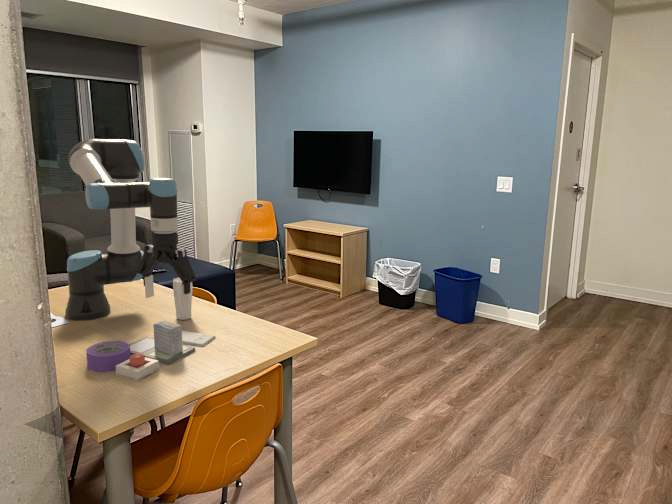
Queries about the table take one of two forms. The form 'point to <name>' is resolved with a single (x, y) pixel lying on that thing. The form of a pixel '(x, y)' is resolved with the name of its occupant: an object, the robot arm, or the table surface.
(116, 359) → the tape roll
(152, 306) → the table surface
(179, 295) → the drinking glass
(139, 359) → the button
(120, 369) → the button housing
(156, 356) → the picture board
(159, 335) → the medicine box
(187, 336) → the external hard drive
